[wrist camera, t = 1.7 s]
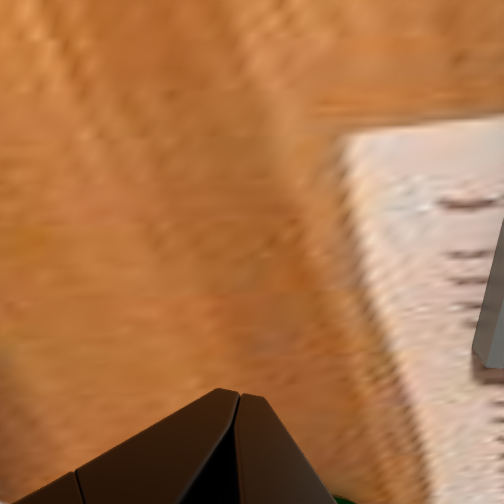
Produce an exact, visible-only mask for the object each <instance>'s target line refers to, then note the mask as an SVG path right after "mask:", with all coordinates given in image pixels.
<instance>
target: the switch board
mask: <svg viewBox="0 0 504 504" xmlns="http://www.w3.org/2000/svg"><path fill="white" fill-rule="evenodd" d="M472 348H473V350H474V351H475V353H476V354H477V356H478V357H479V359H480V360H481V361H482V363H483V364H484V366H485V367H489V368H500V369H504V220H503V224H502V228H501V232H500V236H499V240H498V244H497V248H496V252H495V256H494V260H493V264H492V268H491V272H490V277H489V281H488V285H487V289H486V293H485V297H484V301H483V305H482V309H481V313H480V317H479V321H478V325H477V329H476V333H475V337H474V341H473V345H472Z"/></svg>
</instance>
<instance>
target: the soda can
mask: <svg viewBox="0 0 504 504" xmlns="http://www.w3.org/2000/svg"><path fill="white" fill-rule="evenodd" d="M331 495H332V494H331ZM332 496H333V498H334V499H335V501H336V502H337V504H357V503H355V502H353V501H351V500H349V499H347V498H345V497H342V496H338V495H332Z"/></svg>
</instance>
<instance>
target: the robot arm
mask: <svg viewBox="0 0 504 504" xmlns="http://www.w3.org/2000/svg"><path fill="white" fill-rule="evenodd" d="M12 504H337V502H336V501H335V499H334V498H333V496H332V495H331V494H330V492H329V491H328V489H327V488H326V486H325V485H324V483H323V482H322V480H321V479H320V477H319V476H318V475H317V473H316V472H315V470H314V469H313V467H312V466H311V464H310V463H309V461H308V460H307V458H306V457H305V456H304V454H303V453H302V451H301V450H300V448H299V447H298V445H297V444H296V442H295V441H294V439H293V438H292V437H291V435H290V434H289V432H288V431H287V429H286V428H285V426H284V425H283V423H282V422H281V420H280V419H279V418H278V416H277V415H276V413H275V412H274V410H273V409H272V407H271V406H270V404H269V403H268V401H267V400H266V399H265V398H264V397H261V396H256V395H251V394H246V393H244V394H242V395H241V396H240V394H239V393H238V392H236V391H231V390H226V389H222V388H217V389H214V390H213V391H211V392H209V393H207V394H206V395H204V396H202V397H200V398H199V399H197V400H195V401H193V402H192V403H190V404H188V405H187V406H185V407H183V408H181V409H180V410H178V411H176V412H174V413H173V414H171V415H169V416H167V417H166V418H164V419H162V420H161V421H159V422H157V423H155V424H154V425H152V426H150V427H148V428H147V429H145V430H143V431H141V432H140V433H138V434H136V435H134V436H133V437H131V438H129V439H128V440H126V441H124V442H122V443H121V444H119V445H117V446H115V447H114V448H112V449H110V450H108V451H107V452H105V453H103V454H102V455H100V456H98V457H96V458H95V459H93V460H91V461H89V462H88V463H86V464H84V465H82V466H81V467H79V468H77V469H76V470H75V471H74V472H68V473H67V474H65V475H63V476H61V477H60V478H58V479H56V480H54V481H53V482H51V483H49V484H47V485H46V486H44V487H42V488H40V489H38V490H36V491H34V492H33V493H31V494H29V495H27V496H25V497H23V498H22V499H20V500H18V501H16V502H14V503H12Z"/></svg>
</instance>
